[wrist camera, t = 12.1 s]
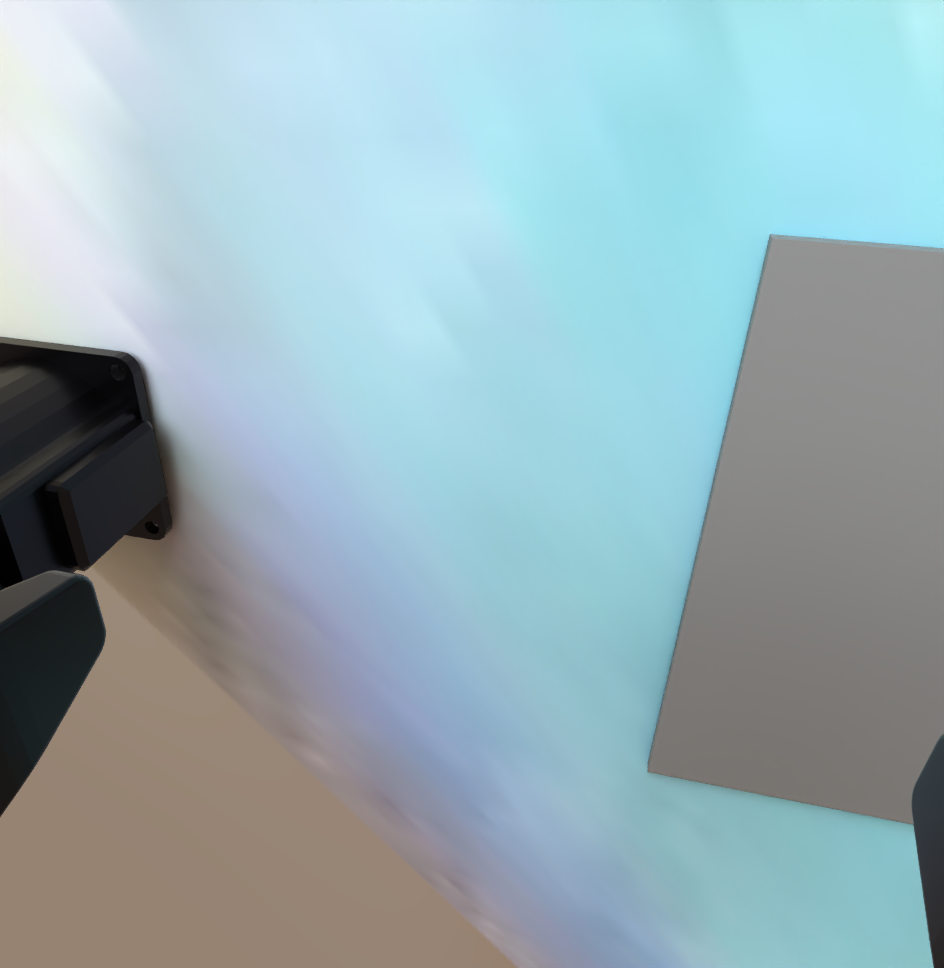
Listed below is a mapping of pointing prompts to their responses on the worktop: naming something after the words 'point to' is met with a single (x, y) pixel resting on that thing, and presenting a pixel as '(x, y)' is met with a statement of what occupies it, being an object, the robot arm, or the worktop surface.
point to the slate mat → (822, 542)
